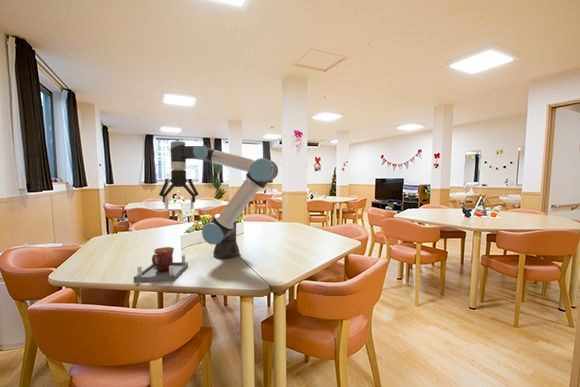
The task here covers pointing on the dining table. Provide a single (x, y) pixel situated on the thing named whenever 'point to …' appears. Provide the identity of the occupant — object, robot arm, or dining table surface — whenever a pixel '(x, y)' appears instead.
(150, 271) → the tray
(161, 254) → the mug
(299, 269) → the dining table surface
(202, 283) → the dining table surface
